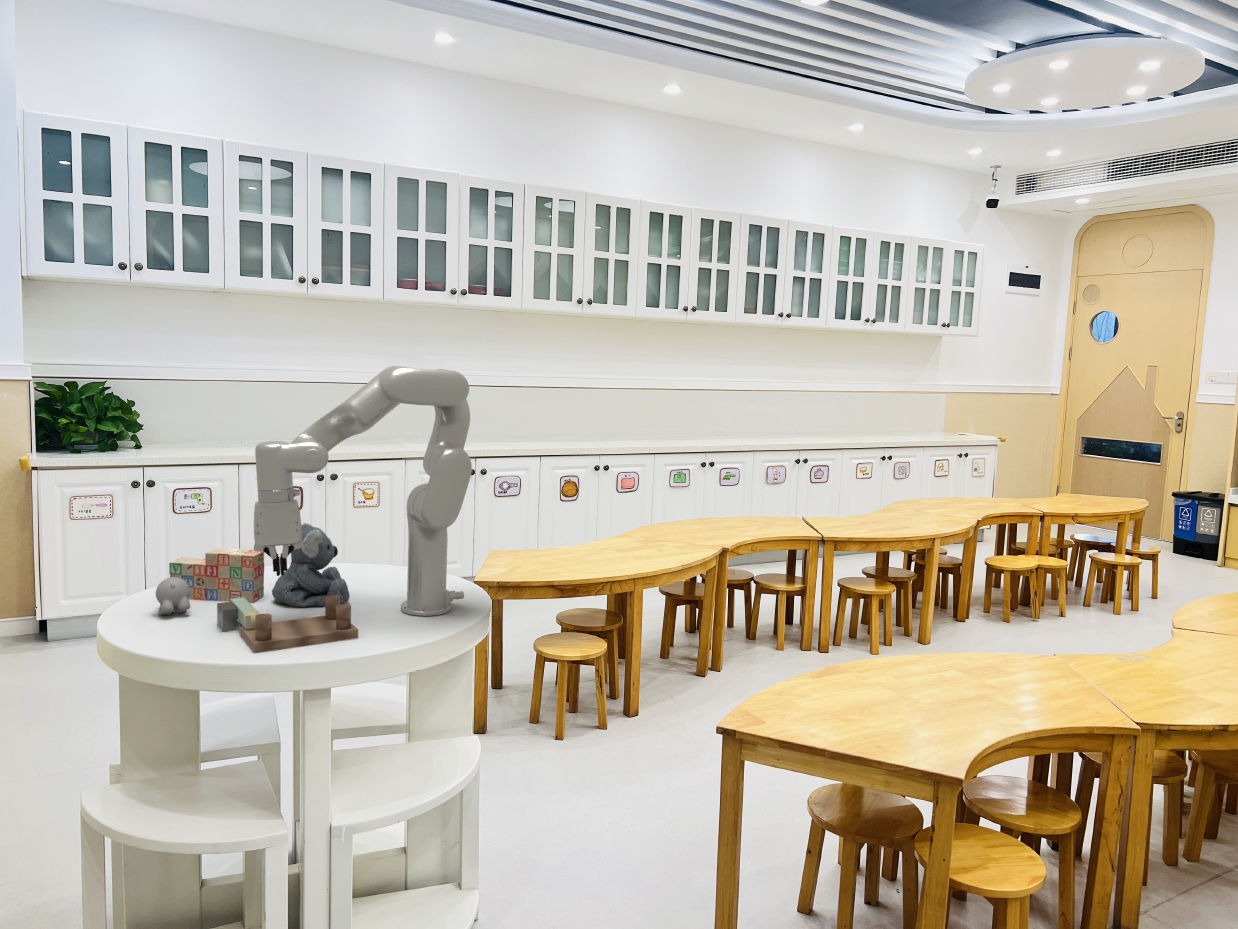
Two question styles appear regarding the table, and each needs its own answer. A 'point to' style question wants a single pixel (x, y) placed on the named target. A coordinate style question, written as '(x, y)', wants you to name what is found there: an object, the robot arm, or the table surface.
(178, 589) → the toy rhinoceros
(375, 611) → the table surface
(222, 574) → the stack of blocks
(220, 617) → the block
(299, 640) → the stool seat
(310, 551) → the koala plush
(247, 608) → the folding leg
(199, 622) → the table surface
